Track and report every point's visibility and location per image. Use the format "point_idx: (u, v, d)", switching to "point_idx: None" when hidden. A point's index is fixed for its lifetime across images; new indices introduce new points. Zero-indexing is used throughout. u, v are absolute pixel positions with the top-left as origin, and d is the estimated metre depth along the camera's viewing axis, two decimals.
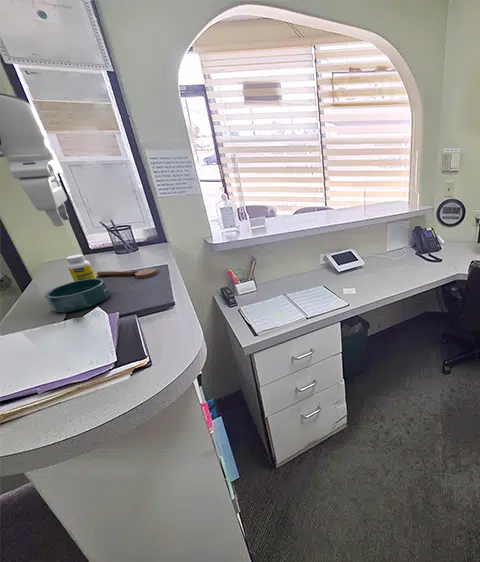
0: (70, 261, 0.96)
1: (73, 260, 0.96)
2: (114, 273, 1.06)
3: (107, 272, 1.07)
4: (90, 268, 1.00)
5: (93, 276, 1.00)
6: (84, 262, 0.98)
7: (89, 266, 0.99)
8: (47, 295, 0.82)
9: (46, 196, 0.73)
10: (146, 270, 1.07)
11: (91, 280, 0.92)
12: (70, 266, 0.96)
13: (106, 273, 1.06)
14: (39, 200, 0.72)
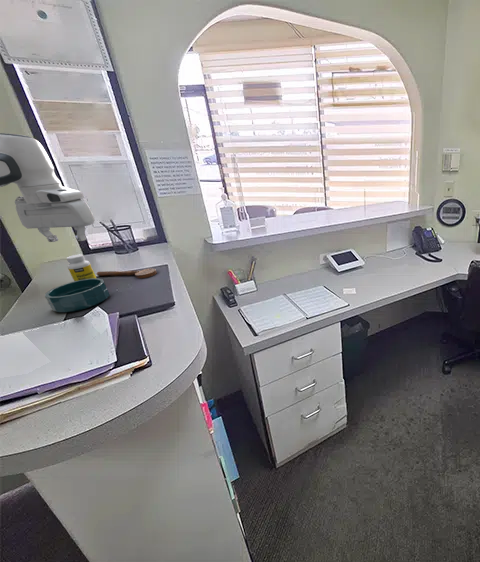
0: (70, 261, 0.96)
1: (73, 260, 0.96)
2: (114, 273, 1.06)
3: (107, 272, 1.07)
4: (90, 268, 1.00)
5: (93, 276, 1.00)
6: (84, 262, 0.98)
7: (89, 266, 0.99)
8: (47, 295, 0.82)
9: (89, 213, 0.92)
10: (146, 270, 1.07)
11: (91, 280, 0.92)
12: (70, 266, 0.96)
13: (106, 273, 1.06)
14: (86, 217, 0.91)
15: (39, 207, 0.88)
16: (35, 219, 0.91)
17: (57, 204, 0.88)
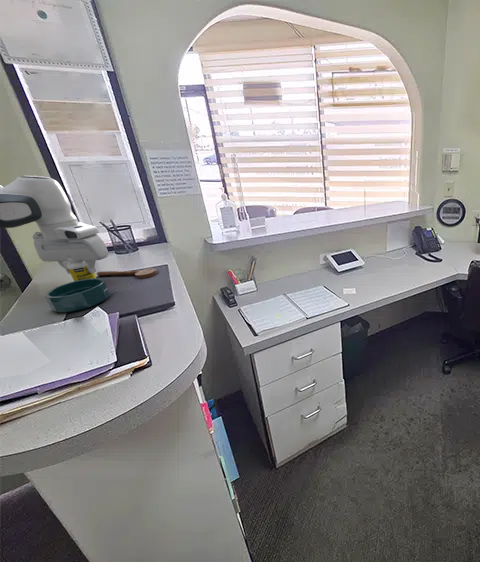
0: (70, 261, 0.96)
1: None
2: (114, 273, 1.06)
3: (107, 272, 1.07)
4: None
5: (93, 276, 1.00)
6: (84, 262, 0.98)
7: None
8: (47, 295, 0.82)
9: (103, 248, 0.96)
10: (146, 270, 1.07)
11: (91, 280, 0.92)
12: (70, 266, 0.96)
13: (106, 273, 1.06)
14: (100, 252, 0.95)
15: (56, 243, 0.92)
16: (52, 253, 0.95)
17: (74, 240, 0.92)
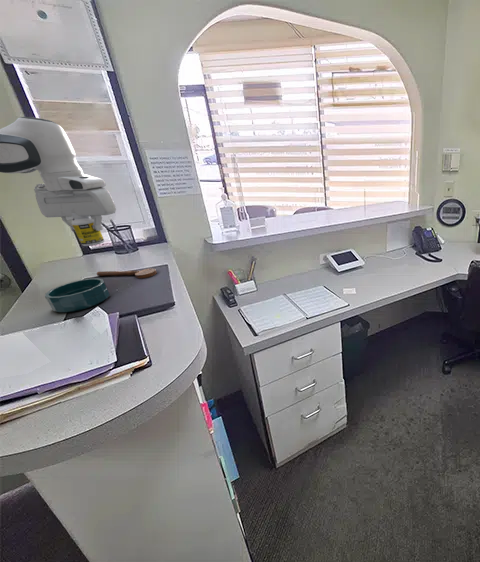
0: (75, 216, 0.88)
1: None
2: (114, 273, 1.06)
3: (107, 272, 1.07)
4: None
5: (99, 235, 0.93)
6: (90, 218, 0.91)
7: None
8: (47, 295, 0.82)
9: (111, 202, 0.89)
10: (146, 270, 1.07)
11: (91, 280, 0.92)
12: (75, 222, 0.89)
13: (106, 273, 1.06)
14: (108, 206, 0.88)
15: (60, 195, 0.85)
16: (55, 208, 0.88)
17: (79, 192, 0.84)
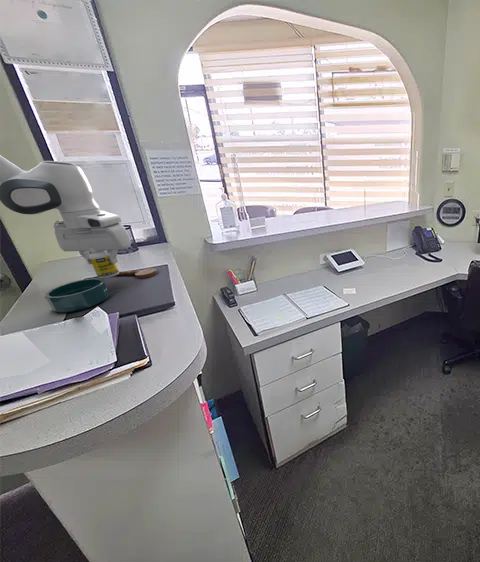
0: (92, 251, 0.93)
1: None
2: None
3: None
4: None
5: (114, 267, 0.97)
6: (106, 252, 0.95)
7: None
8: (47, 295, 0.82)
9: (126, 237, 0.93)
10: (146, 270, 1.07)
11: (91, 280, 0.92)
12: (92, 256, 0.93)
13: None
14: (123, 241, 0.92)
15: (79, 232, 0.89)
16: (74, 243, 0.92)
17: (97, 229, 0.89)
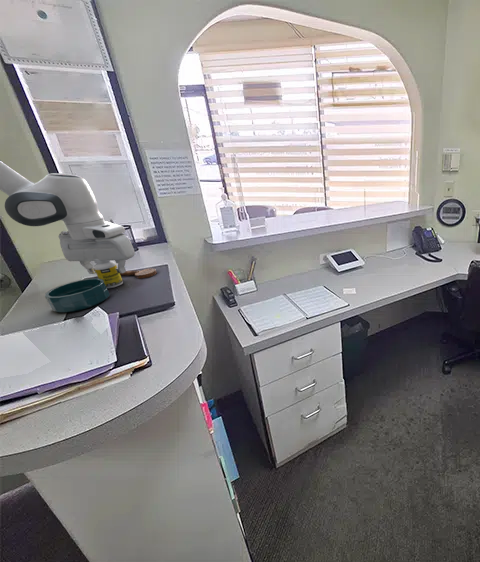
0: (97, 262, 0.94)
1: None
2: None
3: None
4: None
5: (119, 277, 0.99)
6: (110, 263, 0.96)
7: (115, 267, 0.98)
8: (47, 295, 0.82)
9: (130, 247, 0.95)
10: (146, 270, 1.07)
11: (91, 280, 0.92)
12: (97, 267, 0.94)
13: None
14: (127, 251, 0.94)
15: (83, 242, 0.90)
16: (78, 253, 0.93)
17: (101, 240, 0.90)
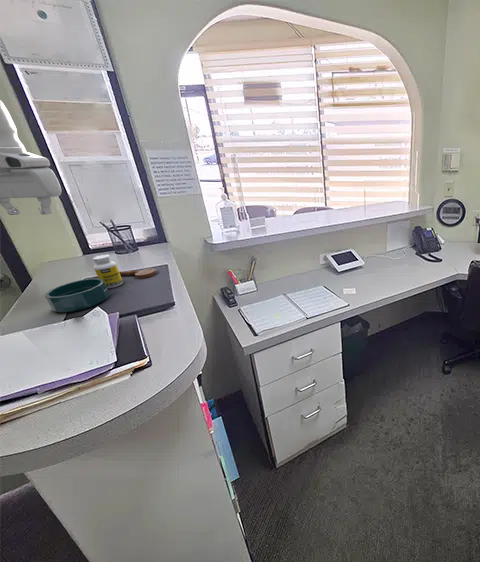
0: (97, 262, 0.94)
1: (100, 260, 0.94)
2: None
3: None
4: (116, 269, 0.98)
5: (119, 277, 0.99)
6: (110, 263, 0.96)
7: (115, 267, 0.98)
8: (47, 295, 0.82)
9: (55, 183, 0.82)
10: (146, 270, 1.07)
11: (91, 280, 0.92)
12: (97, 267, 0.94)
13: None
14: (51, 187, 0.81)
15: None
16: None
17: (17, 170, 0.77)
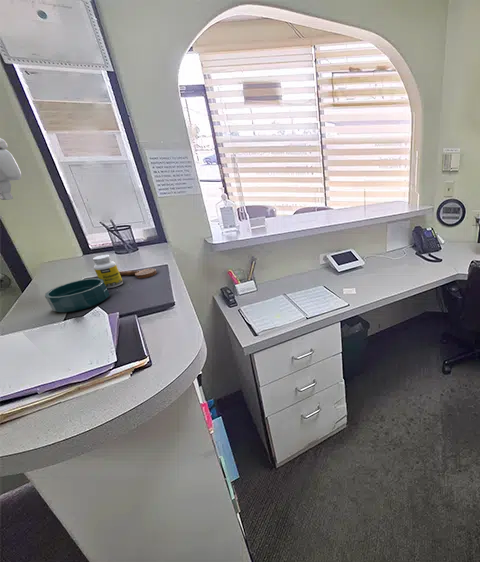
0: (97, 262, 0.94)
1: (100, 260, 0.94)
2: None
3: None
4: (116, 269, 0.98)
5: (119, 277, 0.99)
6: (110, 263, 0.96)
7: (115, 267, 0.98)
8: (47, 295, 0.82)
9: (14, 166, 0.77)
10: (146, 270, 1.07)
11: (91, 280, 0.92)
12: (97, 267, 0.94)
13: None
14: (9, 170, 0.76)
15: None
16: None
17: None
